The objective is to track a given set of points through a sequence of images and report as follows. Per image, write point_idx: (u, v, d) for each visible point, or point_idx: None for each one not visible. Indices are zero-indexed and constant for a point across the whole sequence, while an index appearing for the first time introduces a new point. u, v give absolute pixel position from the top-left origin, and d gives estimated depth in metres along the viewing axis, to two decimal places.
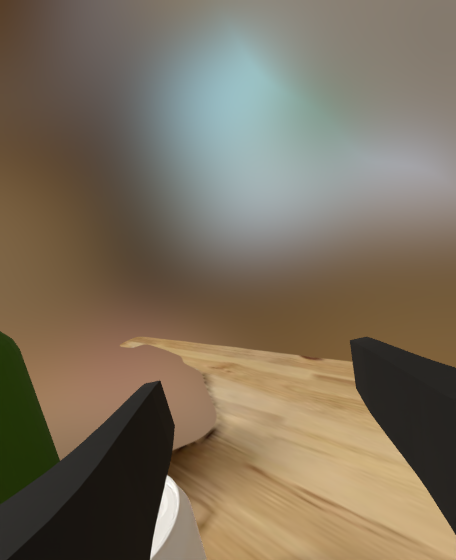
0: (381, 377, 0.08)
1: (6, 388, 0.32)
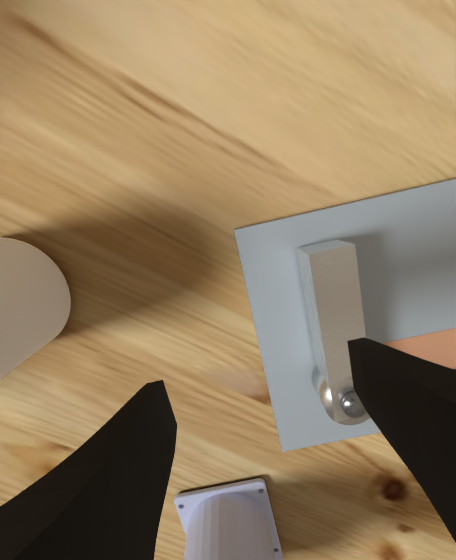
0: (378, 377, 0.08)
1: None
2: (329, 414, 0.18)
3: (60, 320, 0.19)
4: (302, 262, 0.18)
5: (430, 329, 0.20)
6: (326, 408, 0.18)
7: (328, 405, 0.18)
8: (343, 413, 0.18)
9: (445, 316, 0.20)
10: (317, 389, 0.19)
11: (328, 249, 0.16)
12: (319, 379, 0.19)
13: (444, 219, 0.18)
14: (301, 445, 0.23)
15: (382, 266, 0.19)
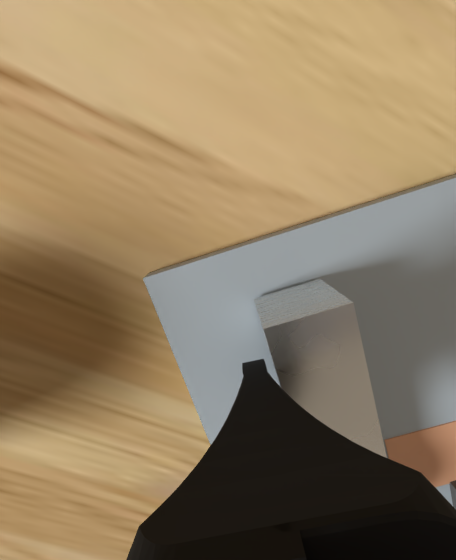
0: None
1: None
2: None
3: None
4: None
5: None
6: None
7: None
8: None
9: None
10: None
11: (302, 314, 0.08)
12: None
13: None
14: None
15: (403, 315, 0.11)
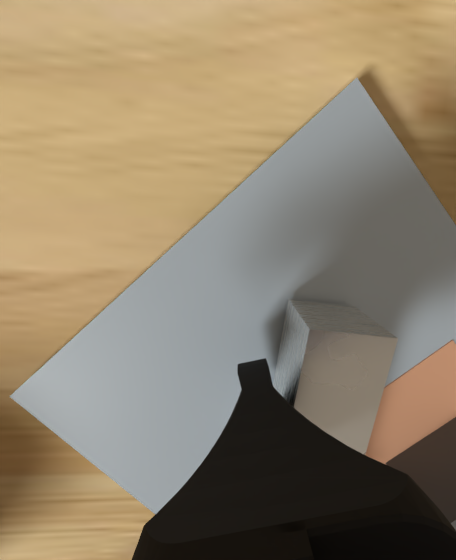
0: None
1: None
2: None
3: None
4: (291, 329, 0.10)
5: None
6: None
7: None
8: None
9: (394, 354, 0.12)
10: None
11: (347, 330, 0.08)
12: None
13: (295, 223, 0.10)
14: None
15: (246, 336, 0.11)
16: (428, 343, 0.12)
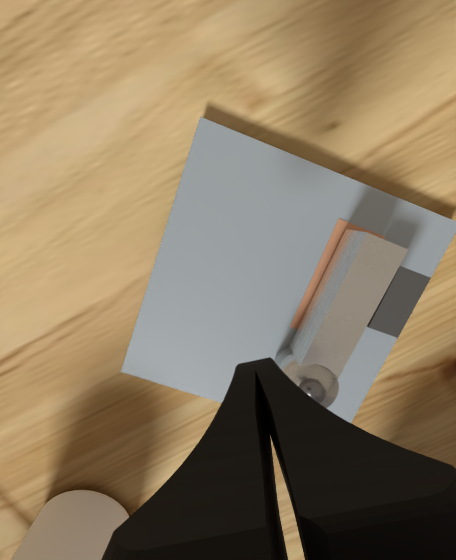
0: (264, 401, 0.08)
1: None
2: None
3: (114, 519, 0.23)
4: (347, 242, 0.17)
5: (313, 263, 0.19)
6: None
7: None
8: None
9: (310, 243, 0.19)
10: (282, 364, 0.19)
11: (384, 240, 0.16)
12: (289, 356, 0.19)
13: (213, 203, 0.18)
14: None
15: (223, 276, 0.19)
16: (326, 227, 0.18)
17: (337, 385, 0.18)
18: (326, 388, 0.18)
